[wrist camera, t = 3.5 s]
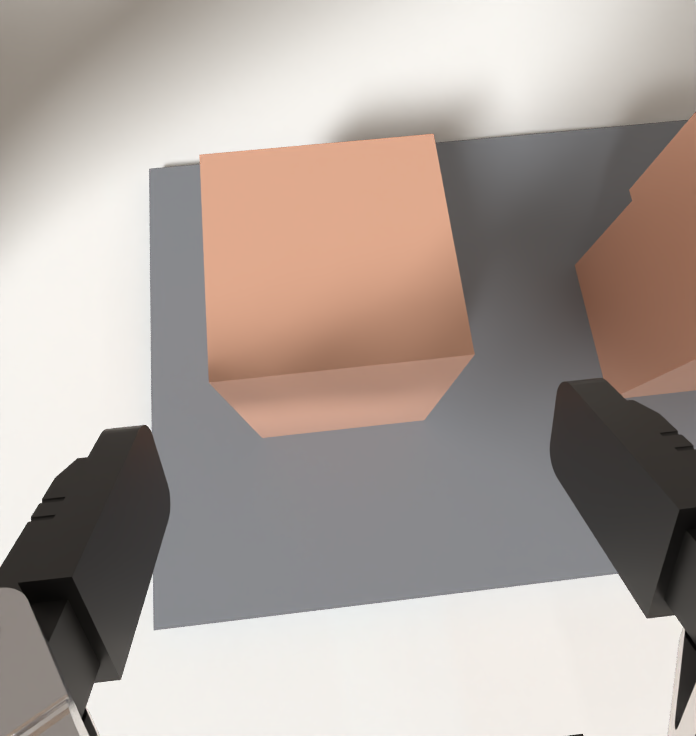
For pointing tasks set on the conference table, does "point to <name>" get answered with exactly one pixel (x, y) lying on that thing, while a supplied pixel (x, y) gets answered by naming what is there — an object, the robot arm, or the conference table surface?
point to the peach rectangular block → (648, 279)
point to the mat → (408, 439)
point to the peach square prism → (331, 284)
